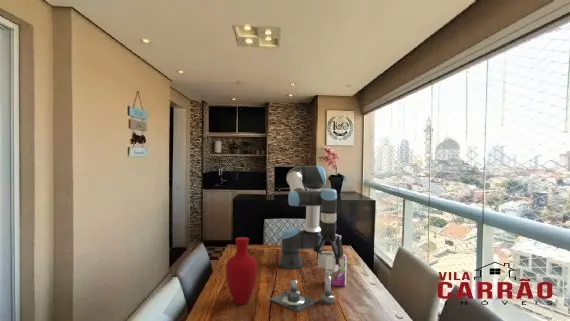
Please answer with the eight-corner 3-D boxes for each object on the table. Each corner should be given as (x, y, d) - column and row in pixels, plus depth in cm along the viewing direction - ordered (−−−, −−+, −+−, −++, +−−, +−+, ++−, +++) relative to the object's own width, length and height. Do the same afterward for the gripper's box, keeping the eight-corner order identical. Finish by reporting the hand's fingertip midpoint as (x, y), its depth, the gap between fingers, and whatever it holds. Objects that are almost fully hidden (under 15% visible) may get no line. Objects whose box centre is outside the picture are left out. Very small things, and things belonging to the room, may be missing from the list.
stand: (318, 301, 153) (319, 276, 154) (325, 297, 158) (326, 273, 158) (329, 305, 149) (329, 279, 150) (336, 301, 154) (336, 276, 154)
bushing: (316, 266, 154) (316, 253, 154) (325, 262, 160) (325, 250, 160) (330, 270, 148) (330, 257, 148) (339, 266, 154) (339, 253, 154)
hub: (269, 300, 154) (270, 279, 154) (288, 292, 165) (289, 272, 165) (299, 312, 142) (299, 289, 142) (317, 302, 153) (317, 281, 153)
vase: (229, 311, 143) (230, 243, 143) (222, 298, 156) (223, 236, 157) (261, 305, 149) (262, 240, 149) (251, 293, 162) (252, 233, 162)
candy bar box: (324, 284, 175) (324, 254, 175) (326, 281, 180) (326, 252, 180) (345, 287, 171) (345, 256, 171) (346, 284, 176) (346, 254, 176)
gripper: (306, 219, 158) (305, 265, 158) (343, 225, 144) (342, 276, 144) (315, 217, 164) (314, 262, 164) (351, 223, 150) (351, 272, 150)
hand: (327, 268), depth 154 cm, fingers closed on bushing, 8 cm apart
